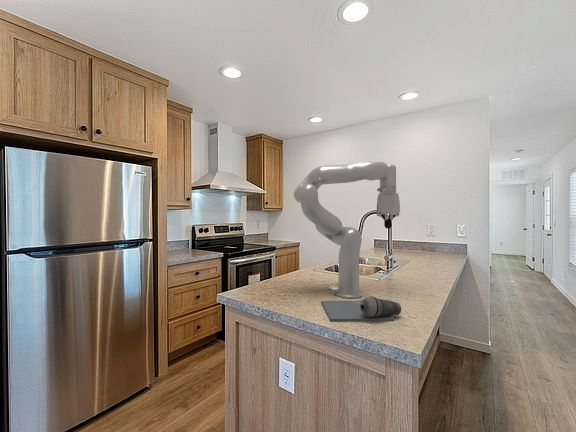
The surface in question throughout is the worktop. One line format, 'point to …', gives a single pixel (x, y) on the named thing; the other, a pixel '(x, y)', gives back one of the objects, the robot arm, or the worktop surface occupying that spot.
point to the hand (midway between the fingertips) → (388, 228)
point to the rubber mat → (349, 312)
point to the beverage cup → (379, 307)
